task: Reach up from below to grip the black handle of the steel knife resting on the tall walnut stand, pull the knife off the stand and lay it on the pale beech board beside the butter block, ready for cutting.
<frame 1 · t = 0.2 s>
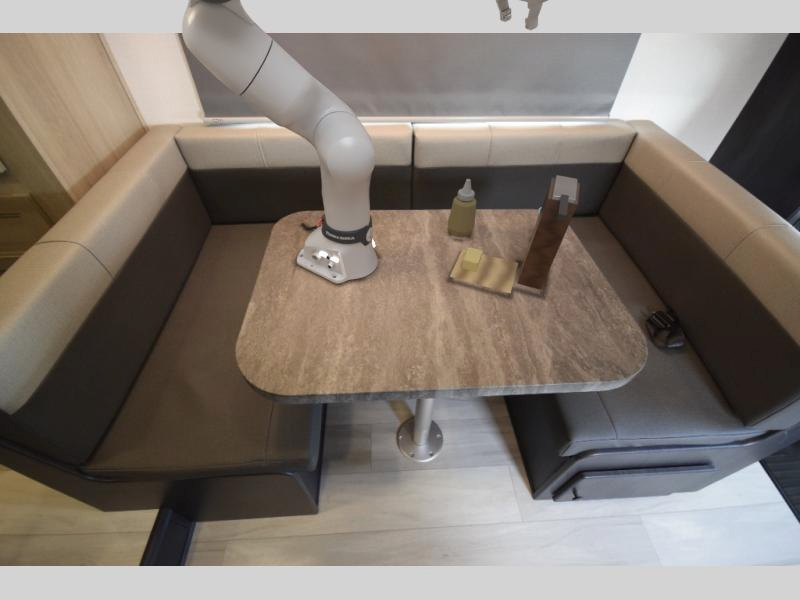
hand: (518, 24, 69), 52 cm above the table, tool tilted 20°, fingers open, 8 cm apart
squeeze bottle: (459, 235, 108), on the table
butter: (471, 263, 96), point 1 cm above the table, touching board
cup: (540, 243, 106), on the table
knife: (562, 201, 73), point 26 cm above the table, touching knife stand
board: (483, 273, 96), on the table
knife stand: (529, 278, 95), on the table
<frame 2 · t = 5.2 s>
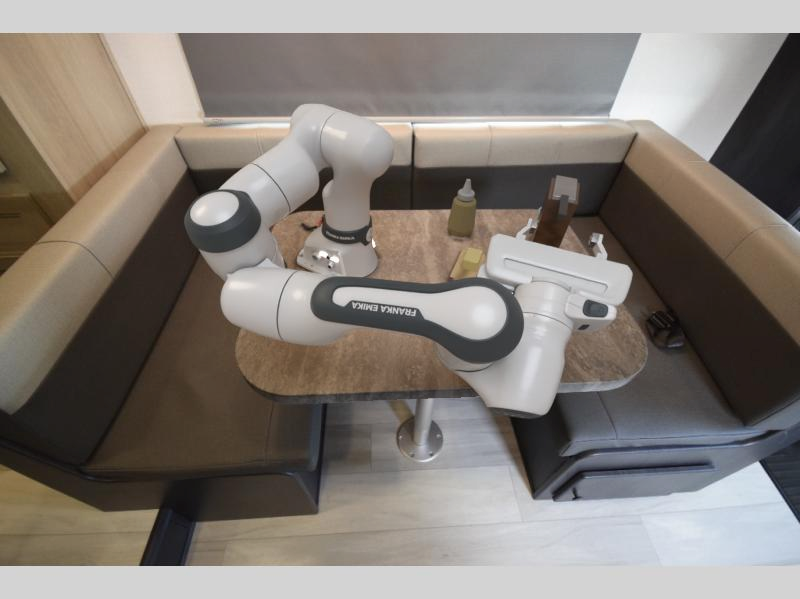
hand: (564, 228, 55), 32 cm above the table, tool pointing upward, fingers open, 8 cm apart
nothing on the table moved.
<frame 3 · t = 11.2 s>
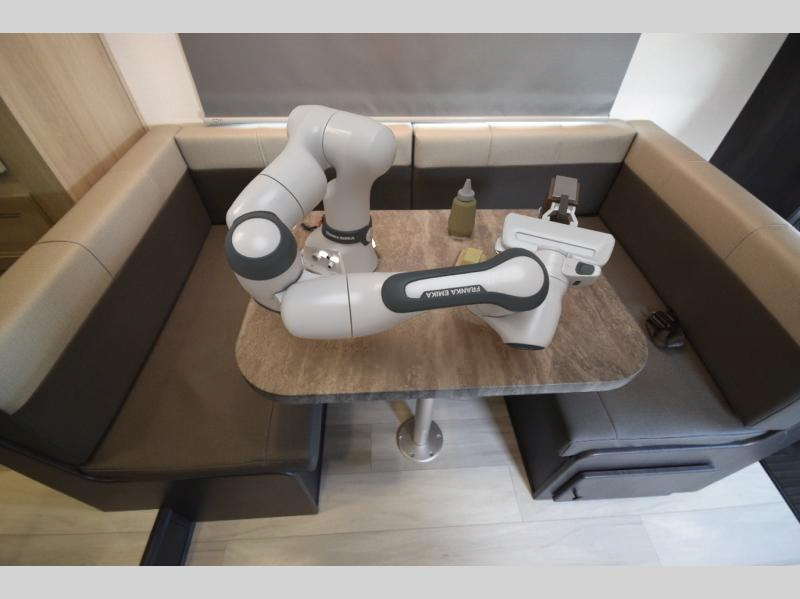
hand: (563, 206, 69), 27 cm above the table, tool pointing upward, fingers closed on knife, 1 cm apart
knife: (562, 201, 73), point 26 cm above the table, touching gripper, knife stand
everything else where it was.
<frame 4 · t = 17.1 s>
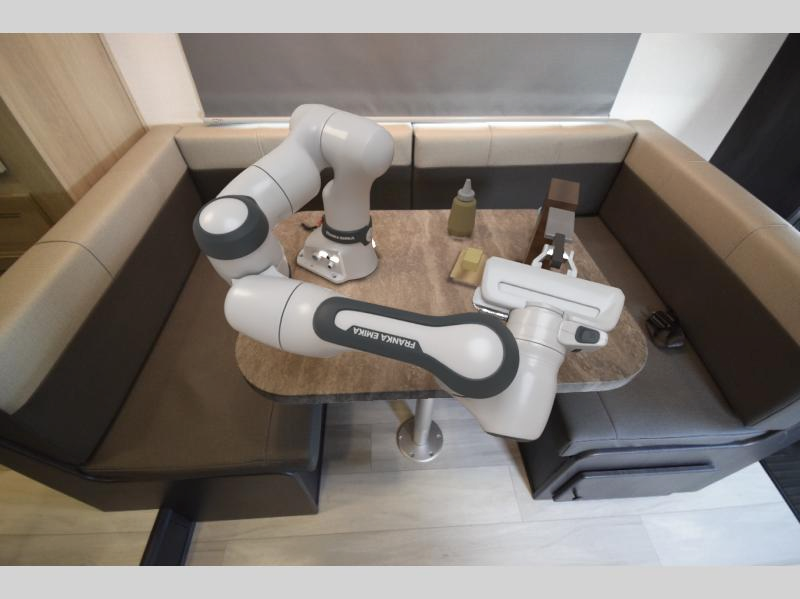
hand: (558, 248, 55), 30 cm above the table, tool pointing upward, fingers closed on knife
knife: (557, 241, 59), point 29 cm above the table, touching gripper
everything else where it was.
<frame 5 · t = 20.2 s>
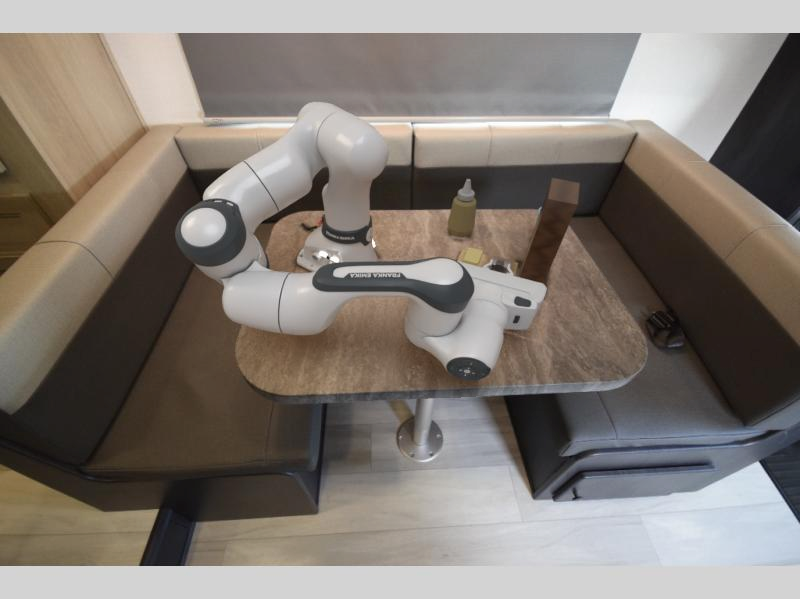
hand: (500, 263, 77), 14 cm above the table, tool horizontal, fingers closed on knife, 1 cm apart
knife: (499, 266, 81), point 11 cm above the table, tilted 30°, touching gripper
everything else where it was.
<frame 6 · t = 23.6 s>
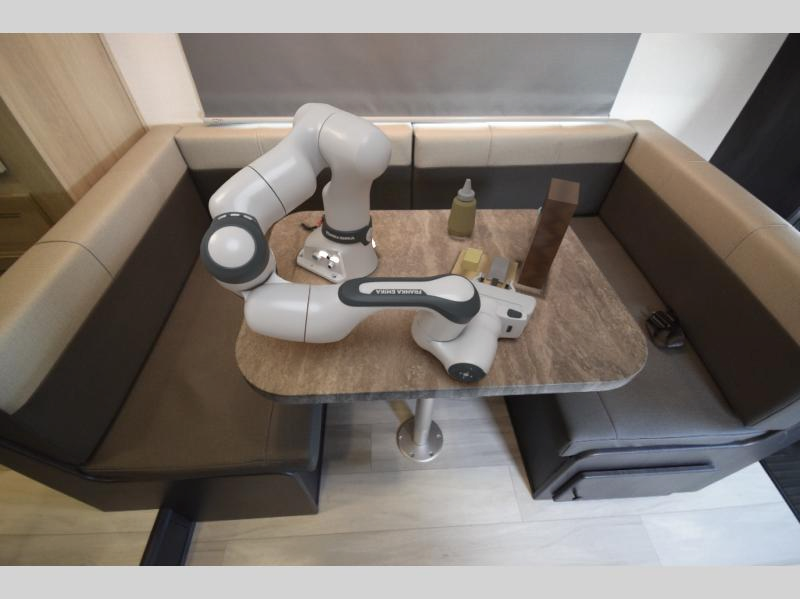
hand: (495, 278, 86), 5 cm above the table, tool horizontal, fingers open, 5 cm apart
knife: (494, 282, 91), point 1 cm above the table, touching board
everything else where it was.
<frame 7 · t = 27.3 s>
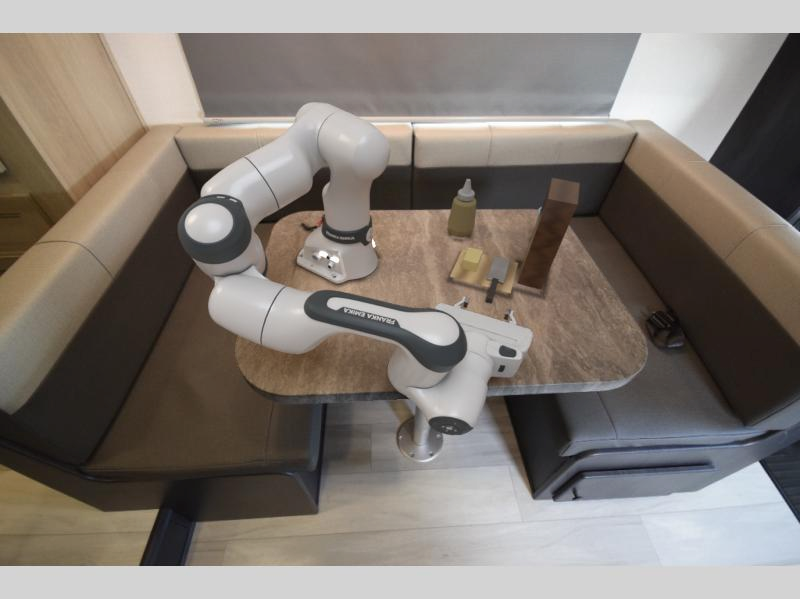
hand: (487, 305, 76), 8 cm above the table, tool horizontal, fingers open, 8 cm apart
nothing on the table moved.
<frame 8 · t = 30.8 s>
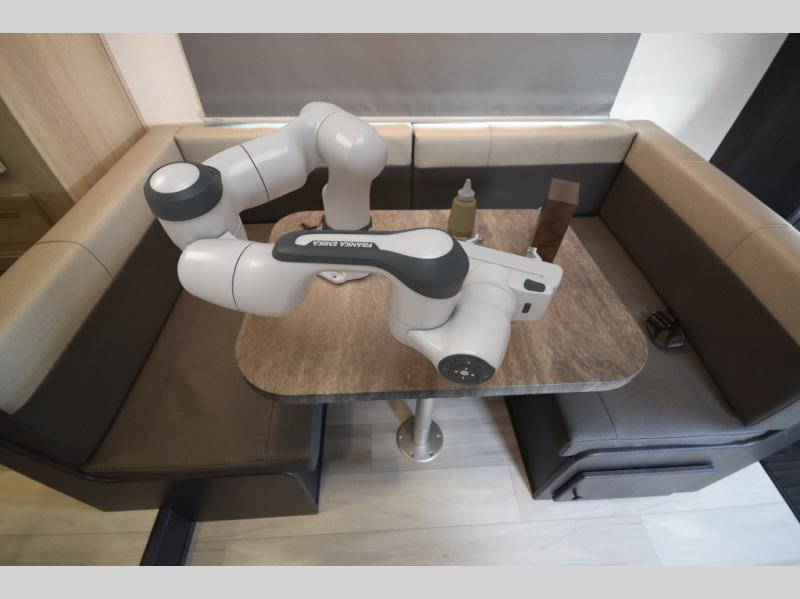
hand: (505, 243, 64), 25 cm above the table, tool horizontal, fingers open, 8 cm apart
nothing on the table moved.
at the end: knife inside the target area on the board (2.5 cm from its centre), point 1.5 cm above the board's base; the gripper is holding nothing; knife moved 26.0 cm from its start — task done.
